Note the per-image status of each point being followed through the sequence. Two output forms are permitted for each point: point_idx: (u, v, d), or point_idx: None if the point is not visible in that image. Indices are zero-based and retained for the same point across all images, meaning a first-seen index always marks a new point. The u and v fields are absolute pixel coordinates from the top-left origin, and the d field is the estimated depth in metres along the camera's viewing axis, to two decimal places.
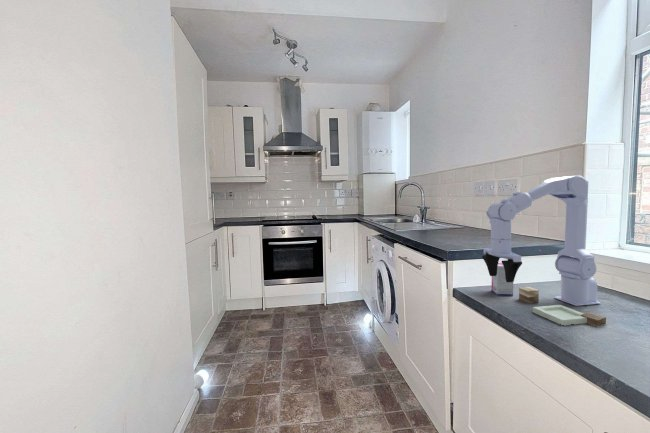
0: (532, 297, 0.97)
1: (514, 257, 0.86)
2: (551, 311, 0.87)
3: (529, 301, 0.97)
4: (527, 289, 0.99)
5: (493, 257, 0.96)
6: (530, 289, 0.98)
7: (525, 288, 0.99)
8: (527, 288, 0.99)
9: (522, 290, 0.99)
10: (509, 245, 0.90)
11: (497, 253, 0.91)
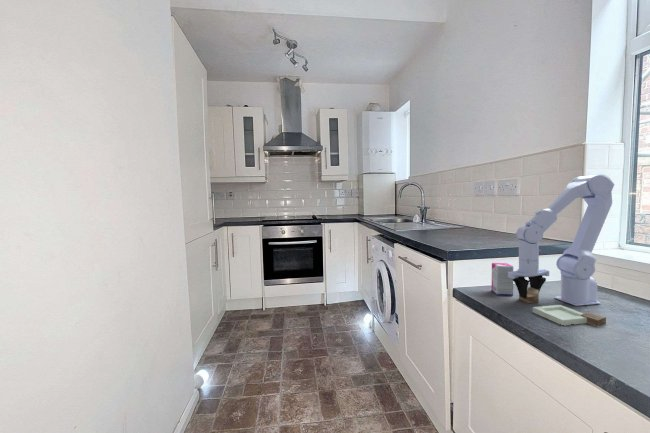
0: (532, 297, 0.97)
1: None
2: (551, 311, 0.87)
3: (529, 301, 0.97)
4: (527, 288, 0.99)
5: (534, 278, 0.99)
6: (530, 289, 0.98)
7: None
8: (527, 288, 0.99)
9: None
10: (523, 265, 0.97)
11: None
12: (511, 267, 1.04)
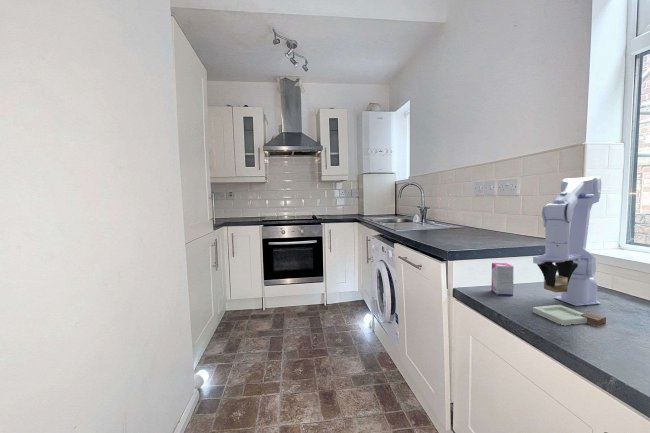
0: (560, 286, 0.84)
1: None
2: (551, 311, 0.87)
3: (557, 290, 0.84)
4: None
5: (563, 264, 0.86)
6: (557, 277, 0.85)
7: None
8: None
9: None
10: (551, 249, 0.84)
11: None
12: (511, 267, 1.04)
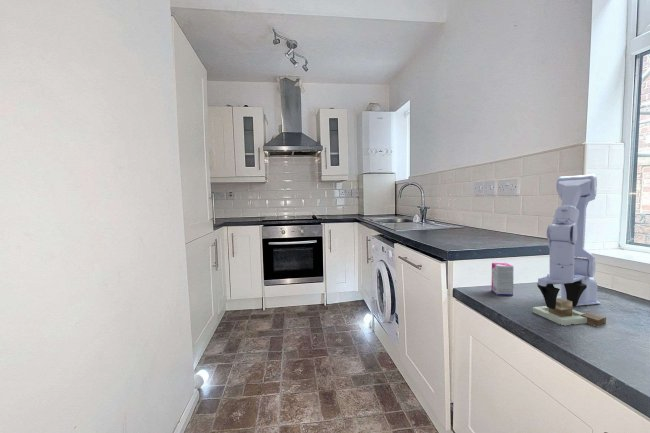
0: (565, 310, 0.83)
1: None
2: None
3: (562, 315, 0.83)
4: (559, 300, 0.85)
5: (572, 285, 0.85)
6: (562, 301, 0.84)
7: (556, 299, 0.85)
8: (558, 299, 0.85)
9: None
10: (556, 270, 0.83)
11: (549, 276, 0.86)
12: (511, 267, 1.04)
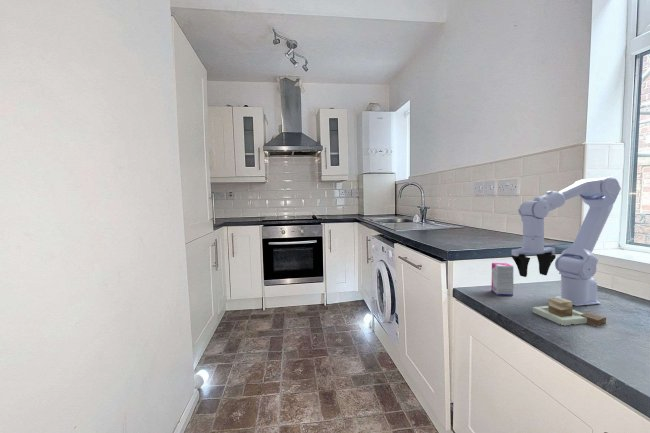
0: (565, 310, 0.83)
1: None
2: None
3: (562, 315, 0.83)
4: (559, 300, 0.85)
5: (543, 255, 0.94)
6: (562, 301, 0.84)
7: (556, 299, 0.85)
8: (558, 299, 0.85)
9: (553, 301, 0.85)
10: (528, 242, 0.92)
11: None
12: (511, 267, 1.04)
